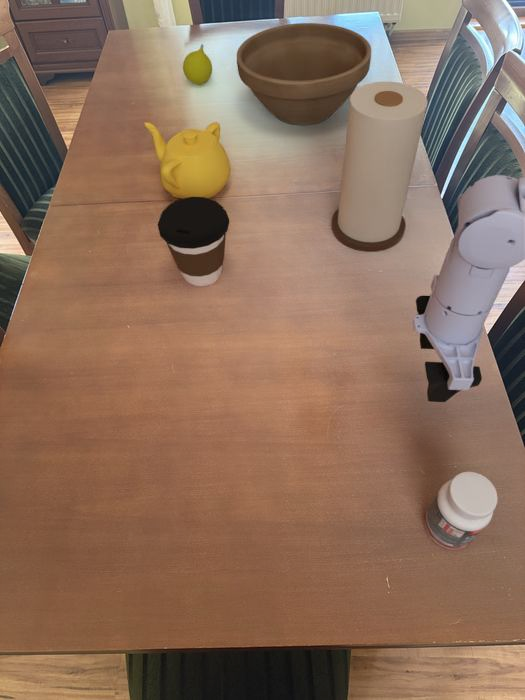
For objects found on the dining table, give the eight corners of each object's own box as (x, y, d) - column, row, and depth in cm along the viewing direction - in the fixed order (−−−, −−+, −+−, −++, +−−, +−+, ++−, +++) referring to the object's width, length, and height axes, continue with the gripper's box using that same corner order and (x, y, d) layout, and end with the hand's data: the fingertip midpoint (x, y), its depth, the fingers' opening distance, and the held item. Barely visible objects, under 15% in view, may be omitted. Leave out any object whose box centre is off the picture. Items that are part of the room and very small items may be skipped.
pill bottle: (464, 560, 57) (493, 532, 49) (416, 533, 59) (436, 502, 51) (480, 517, 60) (510, 483, 52) (433, 493, 62) (455, 457, 54)
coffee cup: (221, 303, 82) (212, 246, 72) (159, 289, 84) (143, 232, 75) (243, 258, 88) (238, 200, 79) (186, 247, 91) (174, 189, 81)
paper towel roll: (413, 216, 94) (445, 85, 75) (390, 260, 87) (419, 129, 68) (347, 198, 97) (361, 70, 79) (320, 239, 91) (329, 109, 72)
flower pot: (229, 140, 111) (224, 78, 101) (251, 78, 128) (248, 19, 117) (361, 147, 108) (369, 83, 97) (366, 82, 124) (373, 22, 114)
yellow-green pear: (217, 85, 126) (213, 42, 118) (190, 92, 125) (184, 48, 117) (208, 73, 130) (203, 30, 122) (181, 79, 129) (175, 36, 121)
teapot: (221, 161, 106) (215, 105, 97) (241, 201, 98) (236, 144, 88) (155, 175, 104) (143, 119, 95) (170, 217, 96) (158, 161, 86)
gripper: (415, 244, 55) (394, 324, 66) (432, 350, 47) (404, 423, 57) (482, 245, 55) (449, 326, 66) (511, 353, 46) (468, 426, 57)
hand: (432, 372), depth 61 cm, fingers open, 7 cm apart
